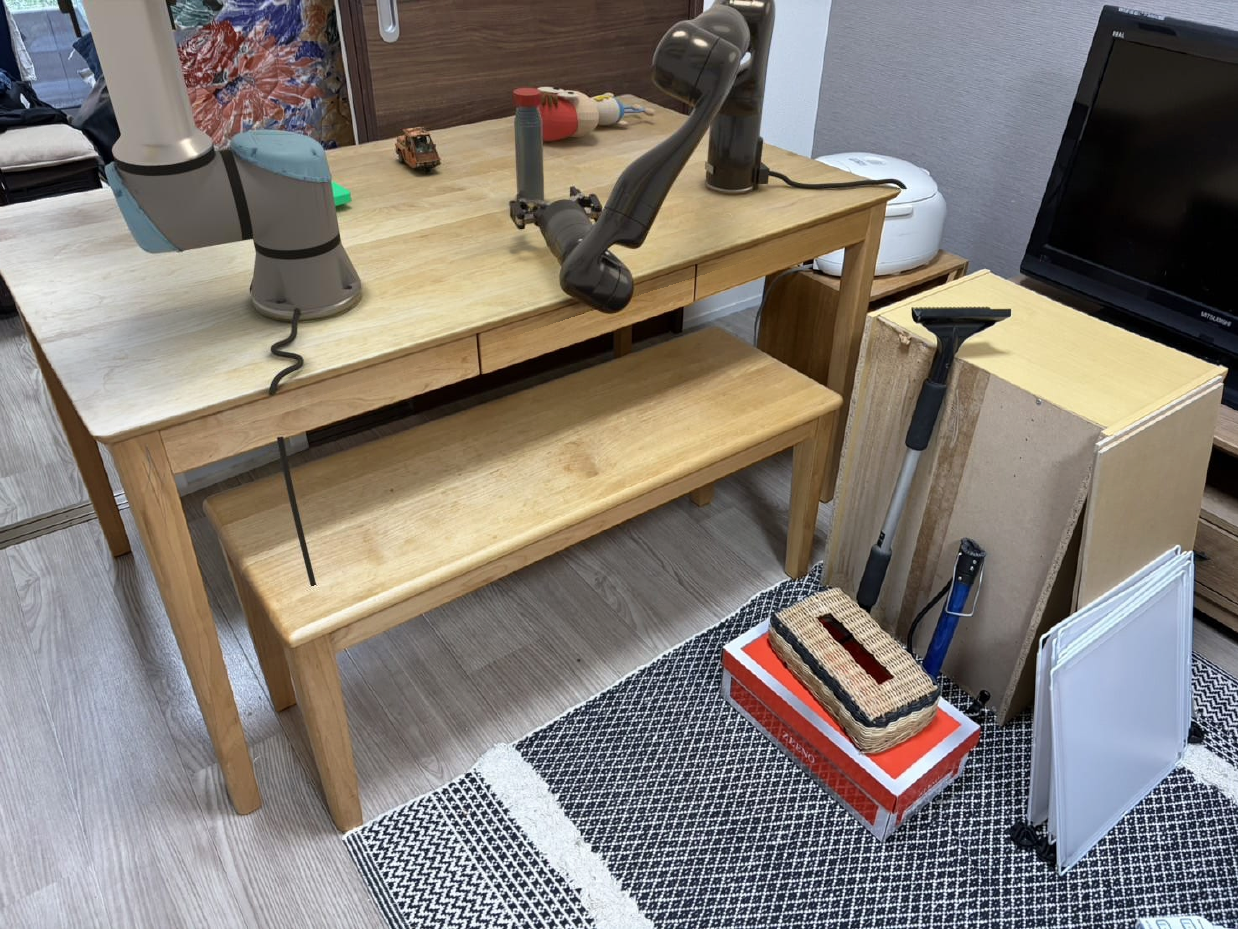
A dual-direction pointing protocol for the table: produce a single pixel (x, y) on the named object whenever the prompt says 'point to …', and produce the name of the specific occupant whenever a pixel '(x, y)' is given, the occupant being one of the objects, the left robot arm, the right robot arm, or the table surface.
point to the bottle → (529, 152)
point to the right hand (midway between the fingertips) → (546, 194)
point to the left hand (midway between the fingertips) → (126, 32)
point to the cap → (527, 97)
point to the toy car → (417, 149)
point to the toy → (579, 112)
